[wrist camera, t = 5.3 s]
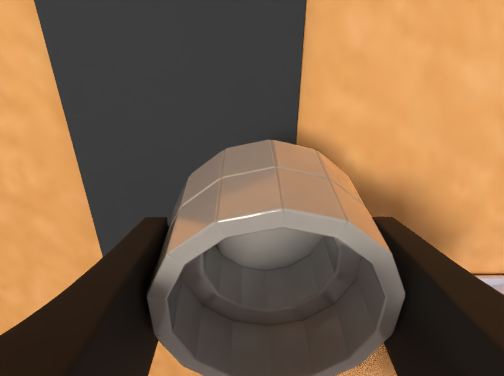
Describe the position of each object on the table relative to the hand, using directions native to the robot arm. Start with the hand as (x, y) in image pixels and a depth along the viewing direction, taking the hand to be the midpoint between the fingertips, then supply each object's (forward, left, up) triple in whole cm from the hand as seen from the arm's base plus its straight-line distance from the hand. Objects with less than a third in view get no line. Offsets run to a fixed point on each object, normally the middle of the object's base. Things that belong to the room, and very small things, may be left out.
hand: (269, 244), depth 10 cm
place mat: (+4, +2, -8) cm, 10 cm away
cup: (0, 0, -1) cm, 1 cm away
